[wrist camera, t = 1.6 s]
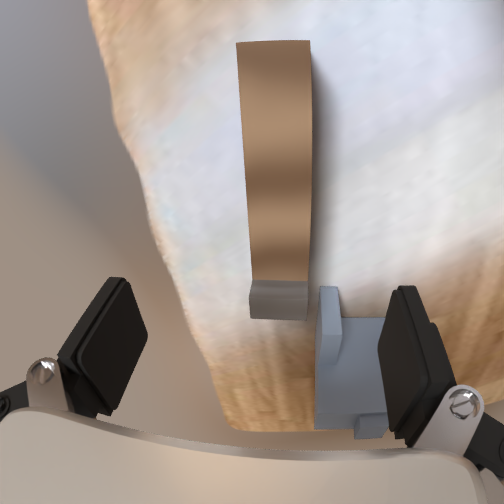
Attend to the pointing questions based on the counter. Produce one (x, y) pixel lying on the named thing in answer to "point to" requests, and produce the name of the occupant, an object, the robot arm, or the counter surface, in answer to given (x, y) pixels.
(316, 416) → the grey slotted holder
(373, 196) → the counter surface
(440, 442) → the robot arm
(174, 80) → the counter surface
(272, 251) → the brown wooden bar
